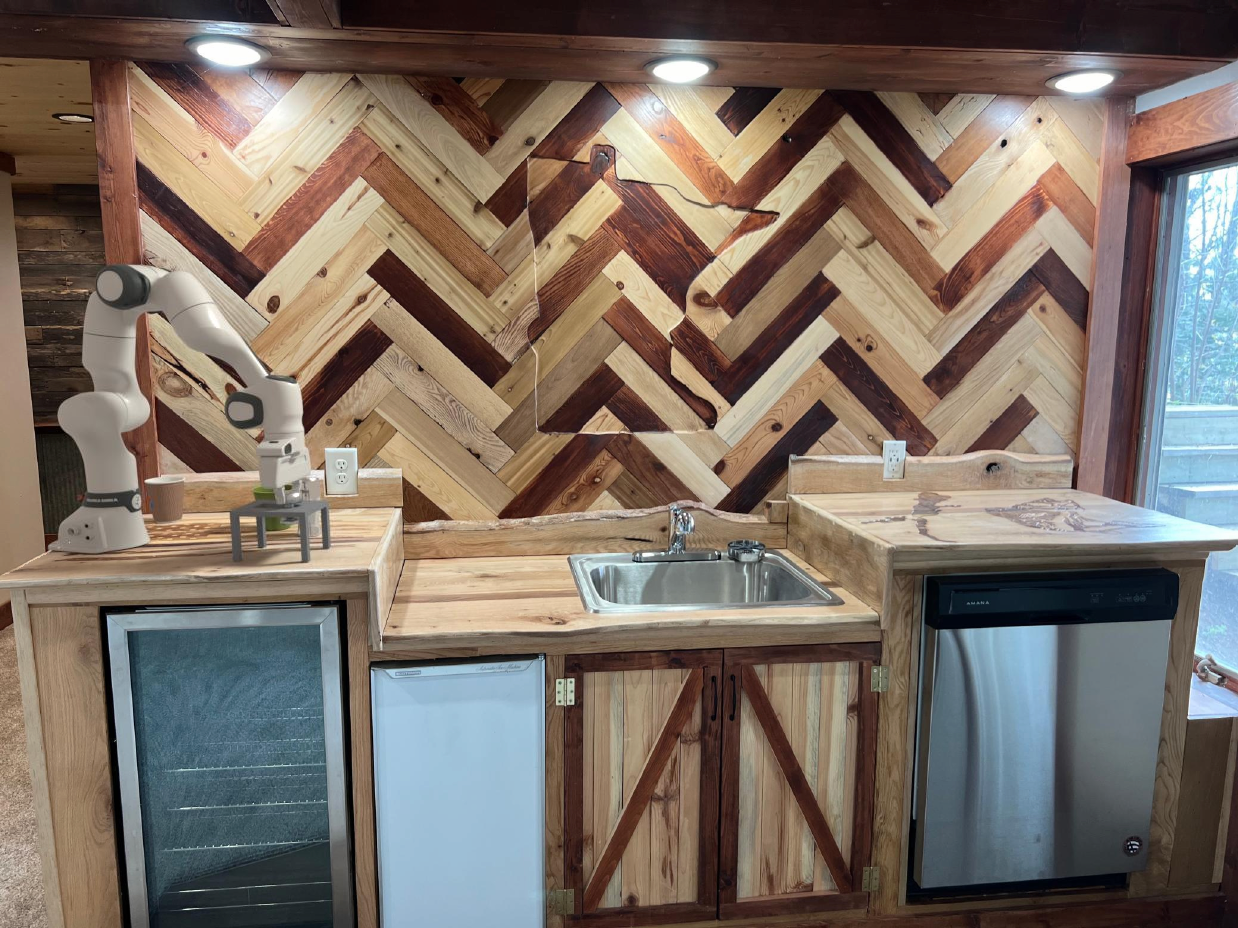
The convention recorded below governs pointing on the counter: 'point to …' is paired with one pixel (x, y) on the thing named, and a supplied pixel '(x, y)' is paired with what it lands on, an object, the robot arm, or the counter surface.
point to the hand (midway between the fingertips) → (288, 500)
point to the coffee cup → (166, 498)
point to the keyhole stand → (272, 509)
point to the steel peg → (291, 505)
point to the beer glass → (311, 492)
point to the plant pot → (269, 494)
